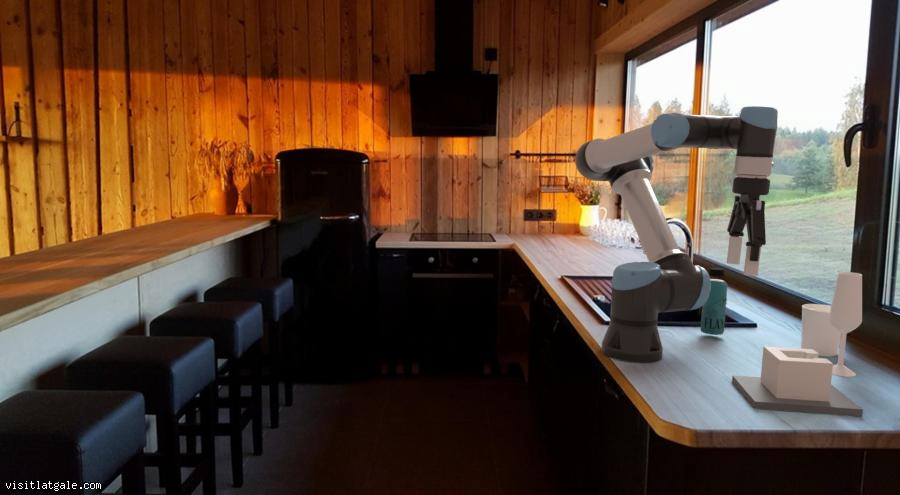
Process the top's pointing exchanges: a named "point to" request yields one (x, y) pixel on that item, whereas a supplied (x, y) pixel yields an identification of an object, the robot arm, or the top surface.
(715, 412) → the top surface
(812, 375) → the beige notched hollow block
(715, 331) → the beverage bottle
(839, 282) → the champagne flute
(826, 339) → the candle holder
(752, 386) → the base plate
